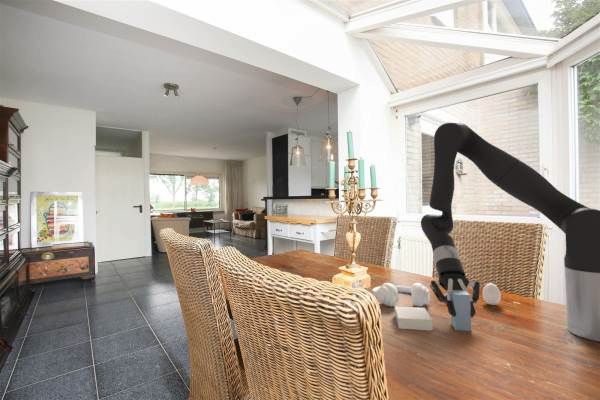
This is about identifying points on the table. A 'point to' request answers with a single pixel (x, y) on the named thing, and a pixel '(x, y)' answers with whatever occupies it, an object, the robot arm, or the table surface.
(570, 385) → the table surface
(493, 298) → the egg
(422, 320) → the base
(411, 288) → the headphones
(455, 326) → the pillar
